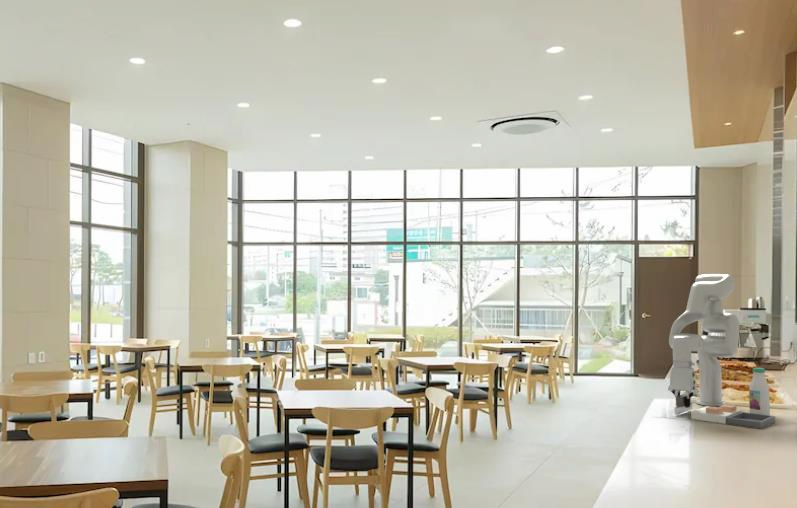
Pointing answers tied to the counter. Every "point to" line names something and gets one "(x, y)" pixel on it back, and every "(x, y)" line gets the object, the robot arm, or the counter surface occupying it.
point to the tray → (751, 420)
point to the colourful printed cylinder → (759, 393)
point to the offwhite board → (711, 415)
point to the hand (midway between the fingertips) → (683, 406)
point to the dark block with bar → (681, 404)
